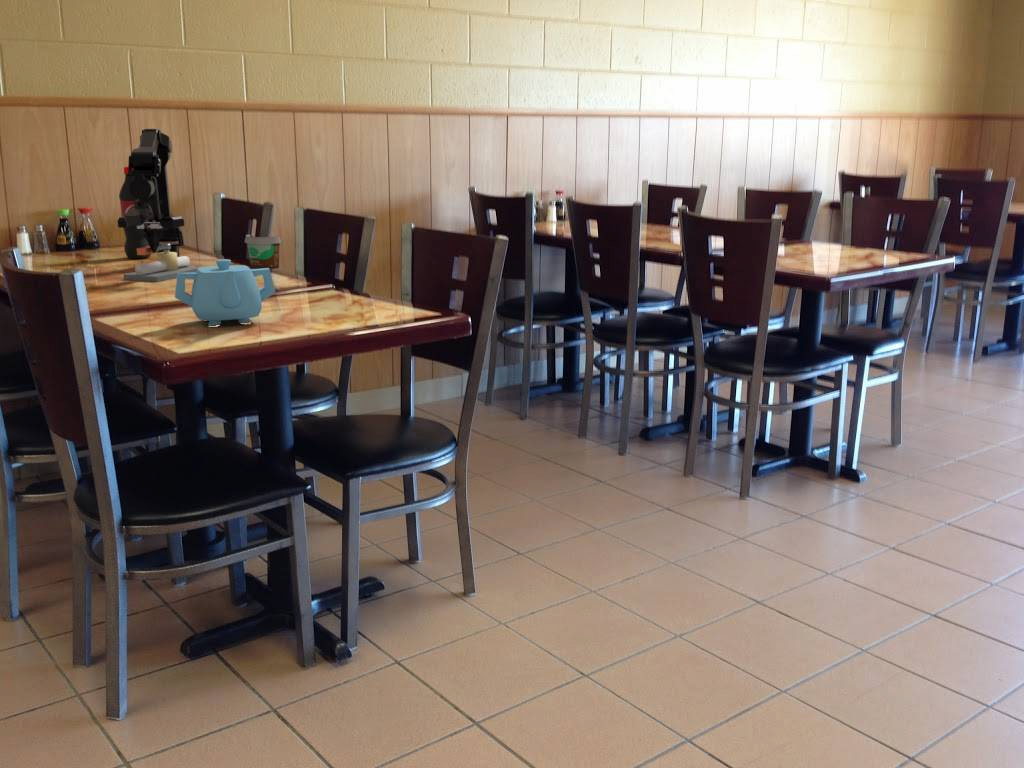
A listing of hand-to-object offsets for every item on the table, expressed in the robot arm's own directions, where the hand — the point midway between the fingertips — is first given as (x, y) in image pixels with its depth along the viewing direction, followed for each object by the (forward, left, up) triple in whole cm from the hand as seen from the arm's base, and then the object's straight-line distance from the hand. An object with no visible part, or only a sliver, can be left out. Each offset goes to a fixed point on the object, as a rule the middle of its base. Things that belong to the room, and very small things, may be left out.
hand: (154, 252), depth 278 cm
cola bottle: (-35, -38, -8) cm, 52 cm away
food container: (-31, +13, -8) cm, 35 cm away
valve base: (-7, -4, -8) cm, 12 cm away
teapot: (+44, +57, -8) cm, 73 cm away
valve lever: (-4, -3, 0) cm, 5 cm away
